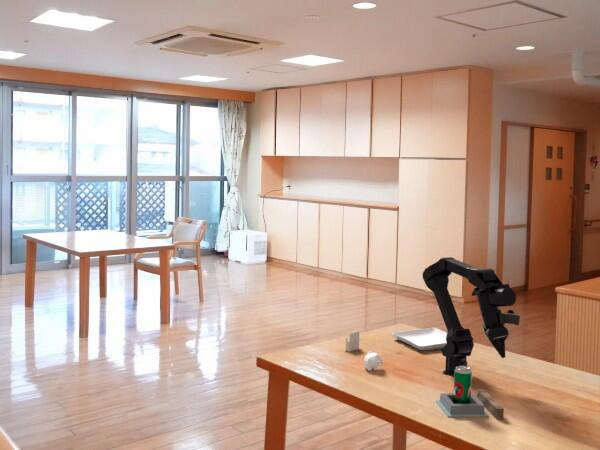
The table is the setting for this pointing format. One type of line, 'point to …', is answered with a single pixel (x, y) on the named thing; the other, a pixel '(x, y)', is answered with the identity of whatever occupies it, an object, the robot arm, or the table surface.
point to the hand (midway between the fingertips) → (502, 355)
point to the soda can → (462, 385)
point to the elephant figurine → (372, 361)
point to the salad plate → (423, 338)
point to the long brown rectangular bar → (490, 404)
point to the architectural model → (352, 341)
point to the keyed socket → (461, 407)
